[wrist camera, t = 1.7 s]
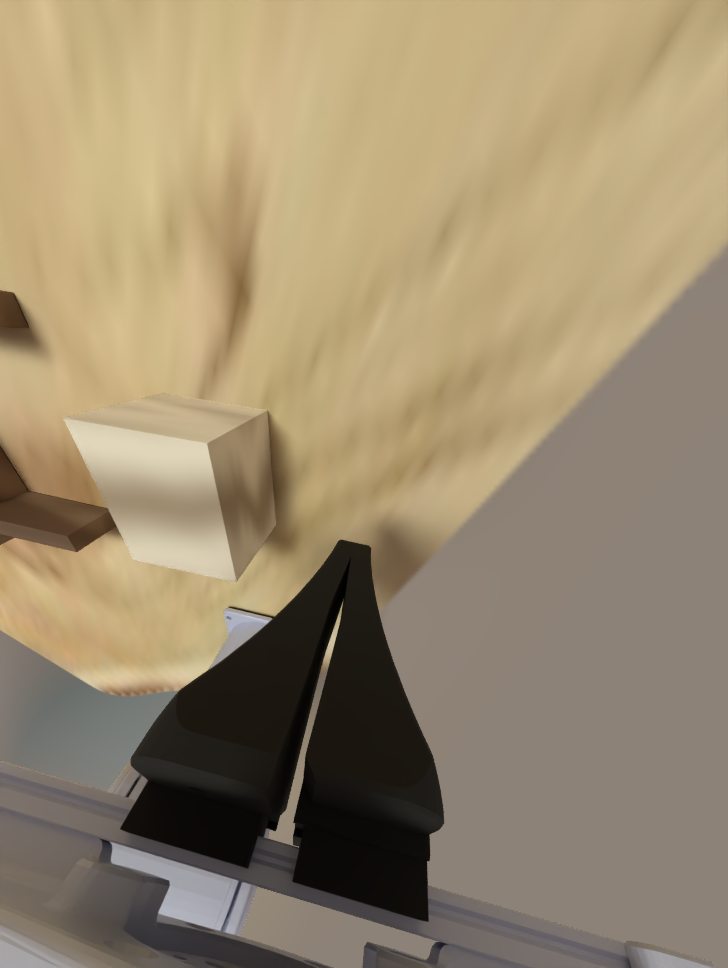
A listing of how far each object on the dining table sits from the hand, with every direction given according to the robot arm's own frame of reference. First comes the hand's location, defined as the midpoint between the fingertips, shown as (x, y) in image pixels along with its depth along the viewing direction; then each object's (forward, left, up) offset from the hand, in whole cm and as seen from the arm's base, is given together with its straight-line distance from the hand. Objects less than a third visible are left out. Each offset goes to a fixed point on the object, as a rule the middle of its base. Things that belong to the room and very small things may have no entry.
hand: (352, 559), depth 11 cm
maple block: (0, +9, -5) cm, 10 cm away
